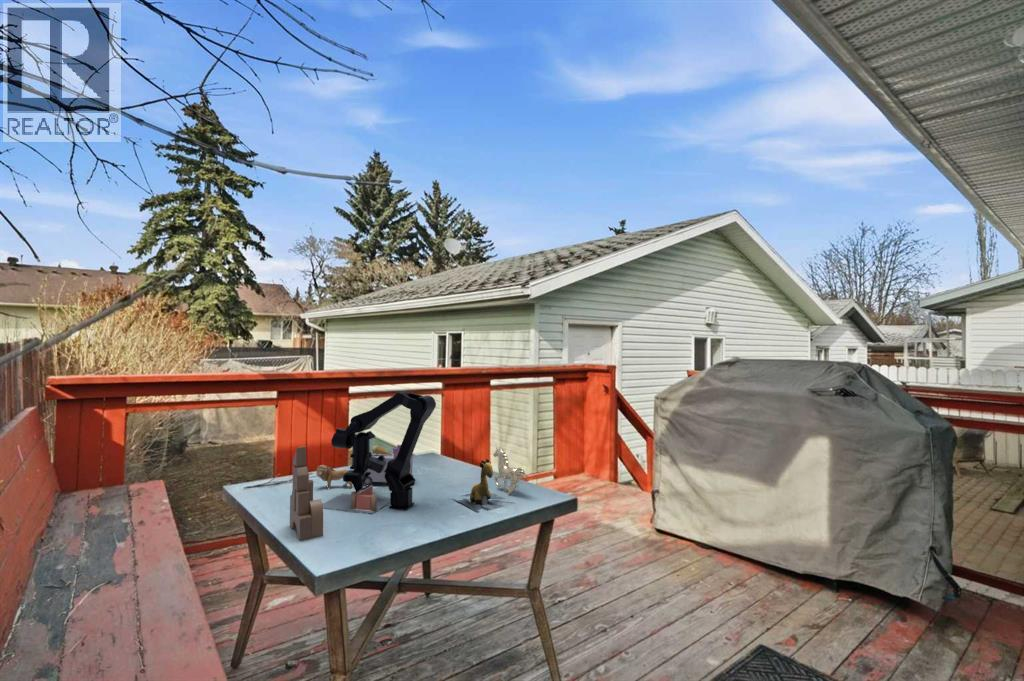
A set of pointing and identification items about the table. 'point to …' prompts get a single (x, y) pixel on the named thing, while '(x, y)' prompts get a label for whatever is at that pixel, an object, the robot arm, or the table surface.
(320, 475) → the lion figurine
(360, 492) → the gate panel
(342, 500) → the board
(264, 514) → the table surface
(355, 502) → the fixed fence
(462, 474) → the table surface
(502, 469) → the unicorn
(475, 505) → the stuffed giraffe
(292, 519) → the wooden toy
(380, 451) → the toy vehicle
